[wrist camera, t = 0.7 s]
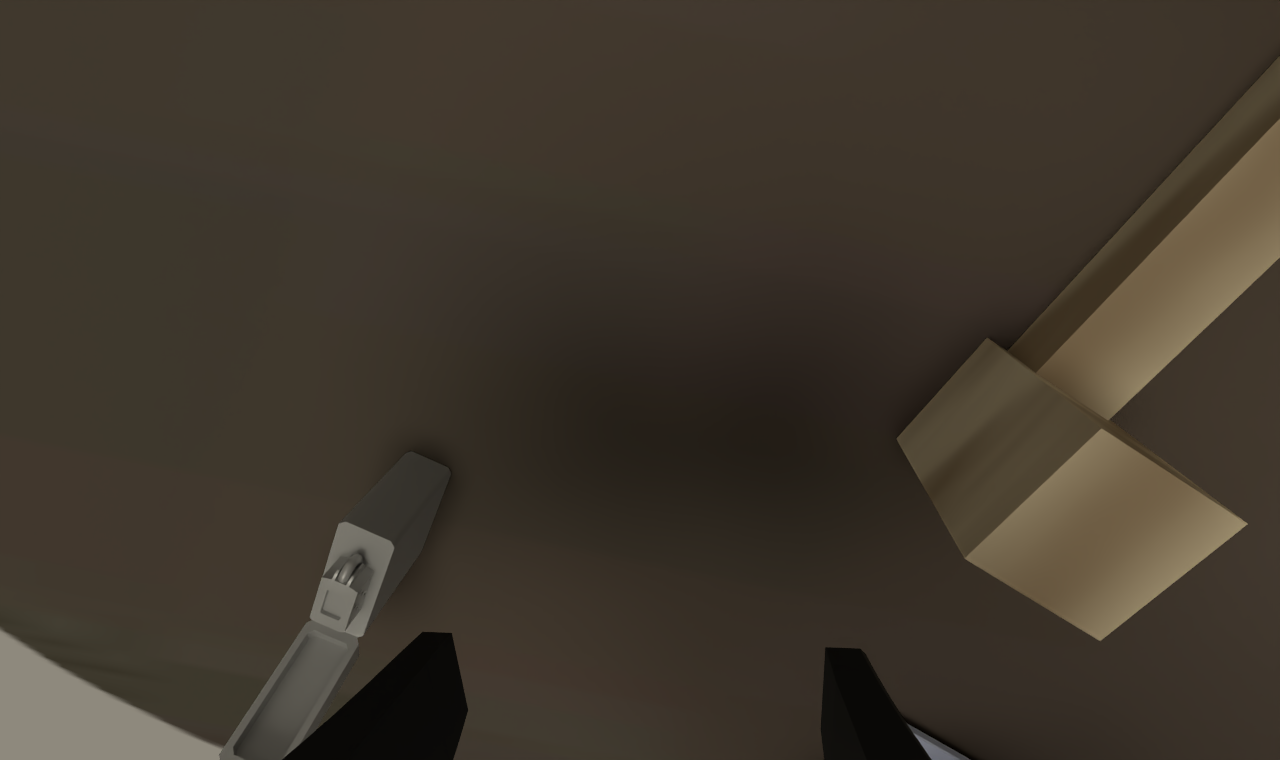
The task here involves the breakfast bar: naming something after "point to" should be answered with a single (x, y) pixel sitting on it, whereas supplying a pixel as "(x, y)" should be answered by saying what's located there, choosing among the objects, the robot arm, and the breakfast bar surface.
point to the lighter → (343, 607)
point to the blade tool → (1106, 393)
